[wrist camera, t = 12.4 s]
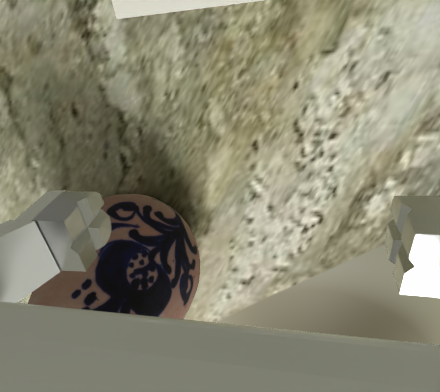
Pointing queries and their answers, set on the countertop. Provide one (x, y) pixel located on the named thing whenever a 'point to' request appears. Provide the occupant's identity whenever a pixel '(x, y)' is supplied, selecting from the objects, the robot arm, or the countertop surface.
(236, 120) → the countertop surface
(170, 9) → the socket strip
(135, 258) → the ceramic pitcher
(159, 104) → the countertop surface
